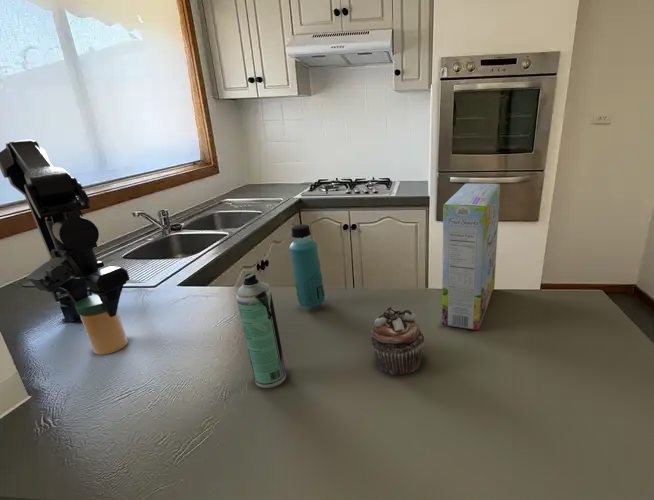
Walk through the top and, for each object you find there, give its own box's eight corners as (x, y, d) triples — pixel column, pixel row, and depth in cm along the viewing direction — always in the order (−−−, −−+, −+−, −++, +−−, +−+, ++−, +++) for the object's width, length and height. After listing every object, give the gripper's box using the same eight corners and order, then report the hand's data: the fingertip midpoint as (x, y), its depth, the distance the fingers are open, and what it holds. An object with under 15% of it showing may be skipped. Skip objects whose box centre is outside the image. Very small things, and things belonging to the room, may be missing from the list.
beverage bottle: (321, 313, 97) (309, 229, 89) (294, 312, 99) (280, 230, 91) (329, 301, 103) (319, 221, 95) (304, 300, 104) (291, 222, 97)
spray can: (292, 371, 77) (273, 269, 69) (276, 390, 72) (254, 282, 64) (266, 367, 78) (245, 267, 71) (249, 385, 74) (224, 280, 66)
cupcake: (364, 373, 74) (359, 324, 70) (382, 345, 83) (379, 299, 79) (417, 382, 71) (415, 330, 67) (430, 351, 79) (429, 303, 75)
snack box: (483, 332, 84) (487, 205, 74) (440, 327, 87) (438, 204, 77) (497, 288, 102) (501, 181, 92) (461, 285, 106) (461, 181, 96)
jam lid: (74, 308, 87) (71, 301, 87) (111, 297, 91) (109, 290, 91) (80, 318, 82) (77, 310, 82) (119, 306, 86) (116, 298, 86)
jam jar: (110, 338, 94) (94, 295, 90) (134, 339, 93) (120, 296, 89) (86, 354, 88) (69, 309, 84) (112, 355, 87) (95, 310, 83)
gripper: (-3, 251, 78) (30, 325, 84) (57, 259, 70) (88, 340, 76) (59, 233, 87) (85, 301, 93) (118, 238, 79) (142, 312, 85)
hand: (98, 313), depth 87 cm, fingers open, 9 cm apart
